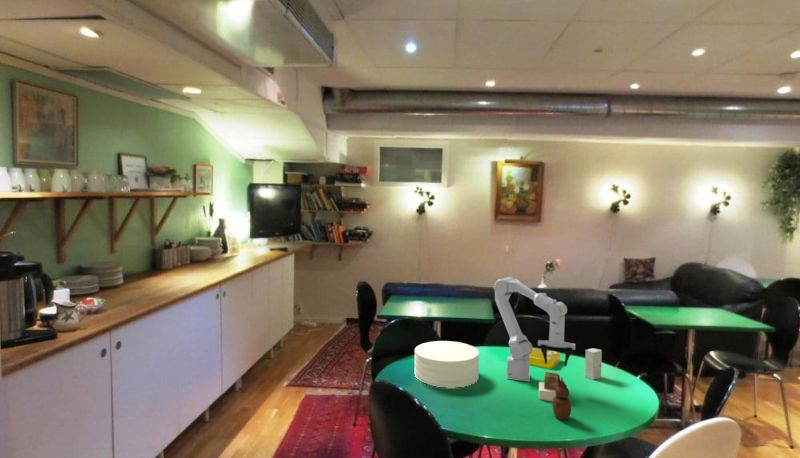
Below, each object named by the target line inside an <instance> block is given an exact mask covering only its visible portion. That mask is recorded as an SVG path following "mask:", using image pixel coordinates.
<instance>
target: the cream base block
mask: <svg viewBox="0 0 800 458" xmlns="http://www.w3.org/2000/svg"><path fill="white" fill-rule="evenodd" d="M555 396H556V394H555V390H550V389H544V381H539V382H538V400H539V401H540V400H541V401H549V402H553V398H554V397H555Z"/></svg>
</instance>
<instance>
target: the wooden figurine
mask: <svg viewBox="0 0 800 458" xmlns="http://www.w3.org/2000/svg"><path fill="white" fill-rule="evenodd" d="M555 394H556V396H555V397H554V398H553V401H551V403H552V405H551V406H552V410H553V415H554V417H555V418H557V419H558V420H560V421H561V420H563V421H564V420H568V419H569V417H570V415H571V414H572V404H571V401H570V399H569V396H570V390H569V388H568V387H567V384H566V383H565V380H563V377H560V374H558V386H557V387H556V390H555Z"/></svg>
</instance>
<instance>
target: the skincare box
mask: <svg viewBox="0 0 800 458" xmlns="http://www.w3.org/2000/svg"><path fill="white" fill-rule="evenodd" d="M602 351H603V350H602V349H598V348H594V347H593V348H588V349H585V355H584V356H585V357H584V358H585V359H584V361H585V362H584V366H585V367H584V378H587V379H589V380H596V379H600V378H602V353H603V352H602Z"/></svg>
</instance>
